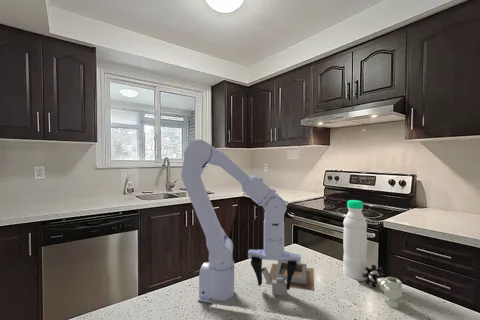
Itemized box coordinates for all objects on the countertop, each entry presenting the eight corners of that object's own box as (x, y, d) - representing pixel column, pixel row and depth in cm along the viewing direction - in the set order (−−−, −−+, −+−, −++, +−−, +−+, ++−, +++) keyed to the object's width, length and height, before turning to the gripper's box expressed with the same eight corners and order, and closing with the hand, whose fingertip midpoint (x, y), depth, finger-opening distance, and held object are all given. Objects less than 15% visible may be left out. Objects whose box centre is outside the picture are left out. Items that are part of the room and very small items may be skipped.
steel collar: (274, 282, 76) (274, 275, 76) (278, 266, 87) (278, 260, 87) (305, 286, 73) (305, 279, 73) (306, 269, 84) (306, 263, 84)
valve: (410, 309, 64) (383, 285, 76) (411, 284, 64) (383, 264, 76) (385, 309, 64) (362, 285, 76) (385, 283, 64) (362, 264, 76)
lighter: (286, 295, 70) (286, 267, 70) (287, 299, 68) (287, 269, 68) (261, 294, 70) (261, 266, 70) (261, 297, 69) (261, 269, 69)
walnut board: (265, 287, 75) (265, 283, 75) (272, 266, 89) (272, 263, 89) (314, 294, 71) (314, 290, 71) (313, 271, 85) (313, 268, 85)
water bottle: (356, 271, 86) (356, 198, 86) (372, 280, 79) (372, 202, 79) (338, 273, 84) (338, 199, 84) (353, 283, 77) (353, 203, 77)
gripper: (301, 235, 71) (301, 282, 71) (251, 231, 75) (251, 276, 75) (300, 243, 64) (300, 295, 64) (246, 238, 68) (246, 287, 68)
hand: (274, 285), depth 69 cm, fingers open, 7 cm apart
